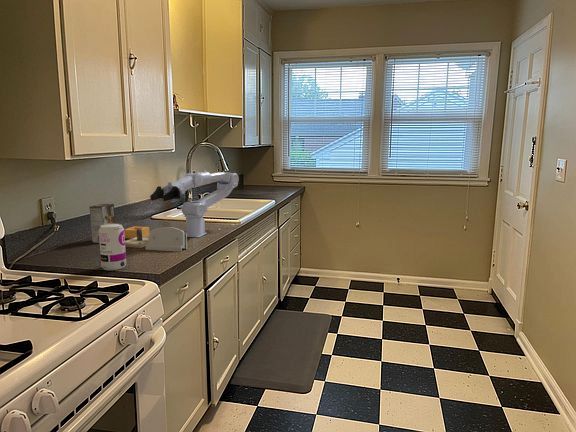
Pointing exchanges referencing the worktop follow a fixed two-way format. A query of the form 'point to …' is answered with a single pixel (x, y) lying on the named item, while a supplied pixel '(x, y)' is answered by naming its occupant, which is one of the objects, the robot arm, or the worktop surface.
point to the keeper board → (137, 240)
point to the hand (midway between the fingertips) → (157, 198)
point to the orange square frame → (132, 232)
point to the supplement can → (112, 246)
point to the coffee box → (101, 218)
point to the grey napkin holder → (167, 239)
